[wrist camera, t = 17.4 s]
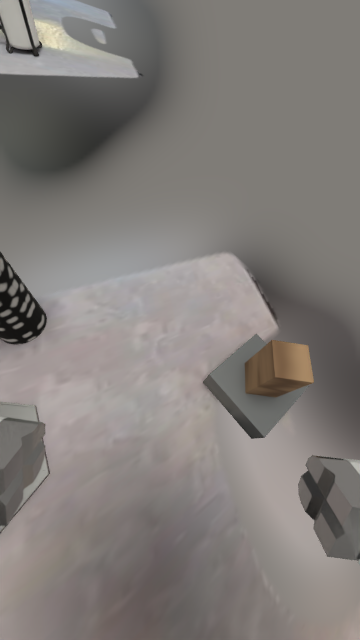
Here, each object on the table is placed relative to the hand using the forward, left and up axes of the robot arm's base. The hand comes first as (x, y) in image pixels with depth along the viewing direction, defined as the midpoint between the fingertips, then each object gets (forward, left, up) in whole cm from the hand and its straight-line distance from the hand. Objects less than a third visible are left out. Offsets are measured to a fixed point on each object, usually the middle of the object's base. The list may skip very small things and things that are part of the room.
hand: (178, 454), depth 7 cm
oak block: (-3, -20, -29) cm, 35 cm away
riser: (-3, -20, -34) cm, 40 cm away
